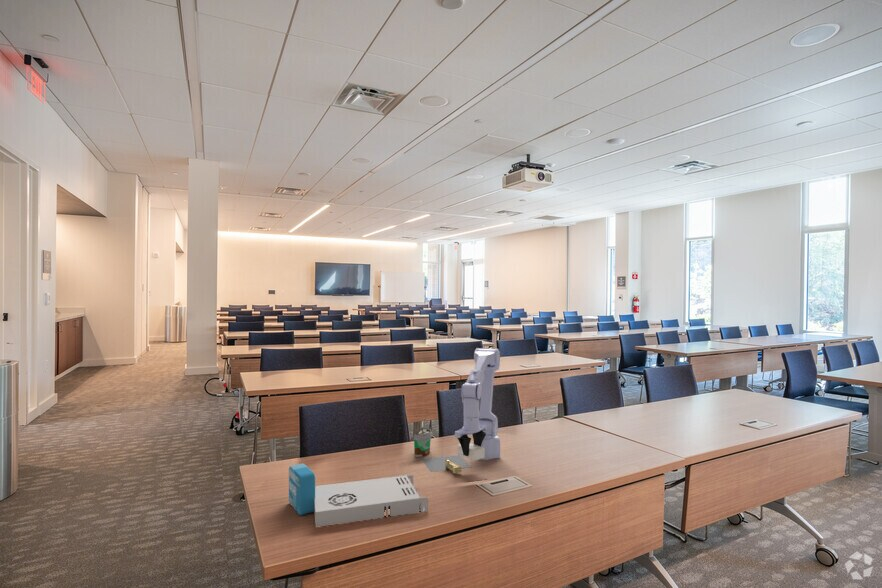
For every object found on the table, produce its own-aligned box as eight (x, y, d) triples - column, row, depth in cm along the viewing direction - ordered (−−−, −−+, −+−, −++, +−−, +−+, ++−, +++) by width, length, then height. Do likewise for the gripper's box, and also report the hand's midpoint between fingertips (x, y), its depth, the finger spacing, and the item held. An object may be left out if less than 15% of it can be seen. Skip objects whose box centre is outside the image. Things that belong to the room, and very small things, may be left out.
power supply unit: (428, 513, 140) (428, 496, 140) (315, 529, 130) (315, 512, 131) (413, 488, 158) (413, 474, 158) (313, 501, 149) (313, 486, 149)
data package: (288, 502, 147) (288, 464, 147) (302, 499, 149) (302, 461, 149) (300, 517, 137) (300, 476, 137) (315, 513, 139) (315, 473, 139)
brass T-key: (443, 468, 172) (443, 460, 172) (450, 466, 174) (449, 458, 174) (454, 475, 166) (454, 466, 166) (461, 473, 167) (461, 465, 167)
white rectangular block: (467, 451, 173) (467, 442, 173) (484, 457, 167) (484, 447, 167) (457, 454, 170) (457, 444, 170) (474, 460, 163) (474, 450, 163)
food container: (428, 461, 183) (428, 435, 183) (413, 460, 185) (413, 435, 185) (435, 450, 195) (435, 427, 196) (421, 450, 197) (421, 426, 197)
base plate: (459, 457, 187) (459, 454, 187) (471, 469, 174) (471, 467, 174) (421, 461, 183) (421, 458, 183) (430, 474, 169) (430, 471, 169)
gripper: (477, 410, 176) (478, 446, 176) (449, 417, 167) (449, 455, 167) (491, 414, 171) (491, 451, 170) (462, 421, 161) (462, 460, 161)
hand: (471, 453), depth 168 cm, fingers closed on white rectangular block, 5 cm apart
